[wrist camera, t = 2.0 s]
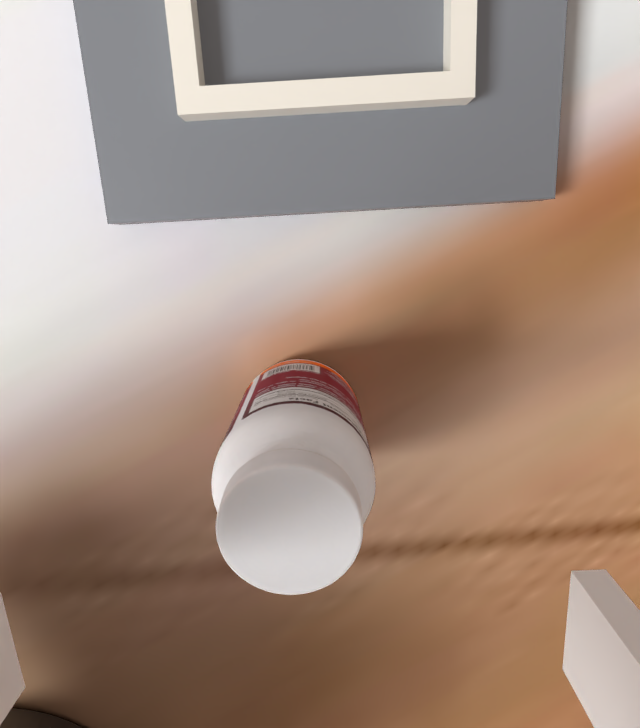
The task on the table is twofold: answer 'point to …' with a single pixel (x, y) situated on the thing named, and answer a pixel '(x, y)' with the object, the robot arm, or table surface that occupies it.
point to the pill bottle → (293, 480)
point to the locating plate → (320, 104)
